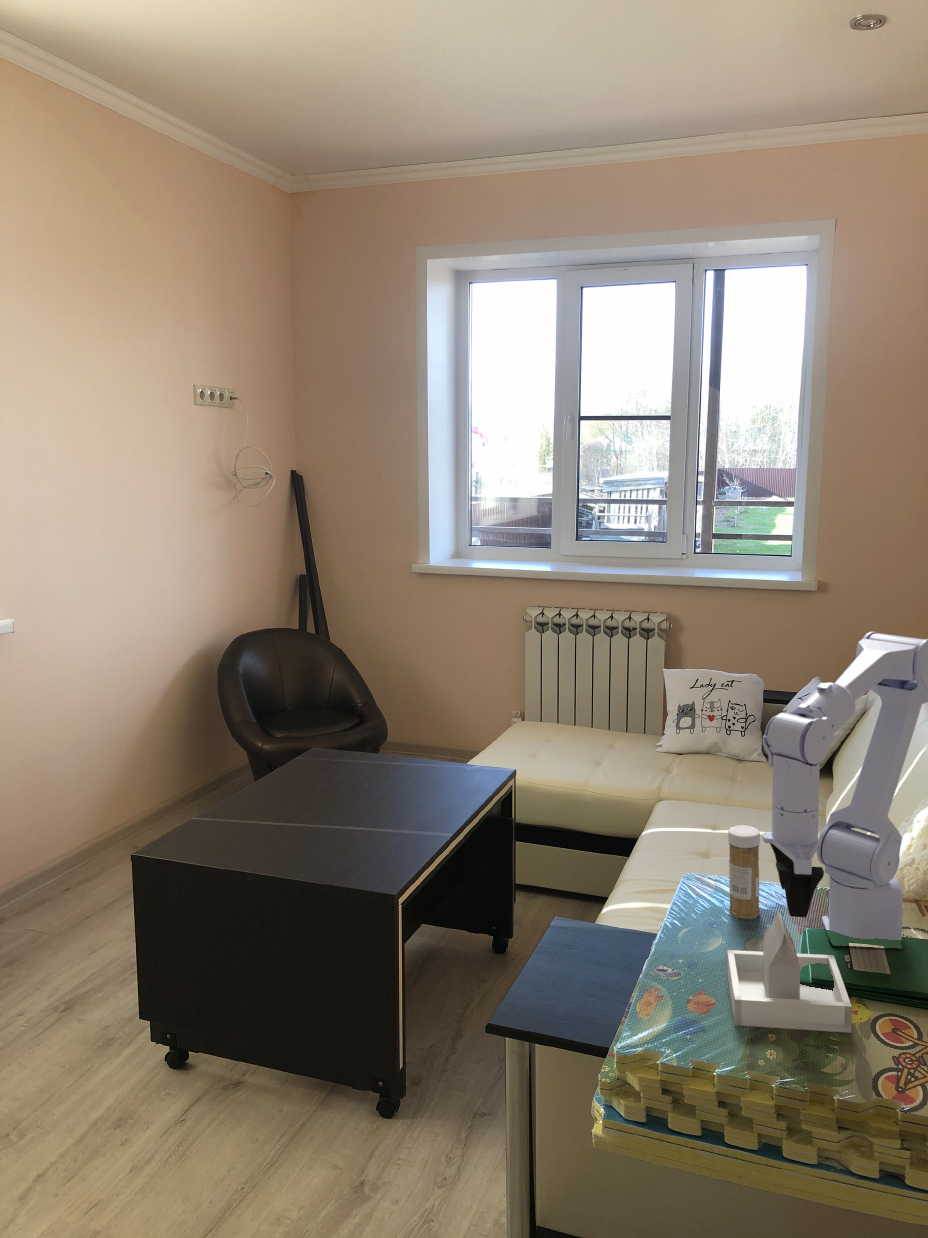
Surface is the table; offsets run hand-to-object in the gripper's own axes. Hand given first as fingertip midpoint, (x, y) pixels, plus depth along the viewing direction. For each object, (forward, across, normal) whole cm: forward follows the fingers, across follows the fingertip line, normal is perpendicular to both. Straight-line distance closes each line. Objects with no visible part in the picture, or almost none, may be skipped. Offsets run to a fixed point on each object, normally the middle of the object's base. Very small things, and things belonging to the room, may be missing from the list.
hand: (793, 901), depth 125 cm
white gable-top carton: (+10, +7, -2) cm, 12 cm away
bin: (+10, +7, -2) cm, 13 cm away
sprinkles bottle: (+10, -16, -5) cm, 20 cm away
